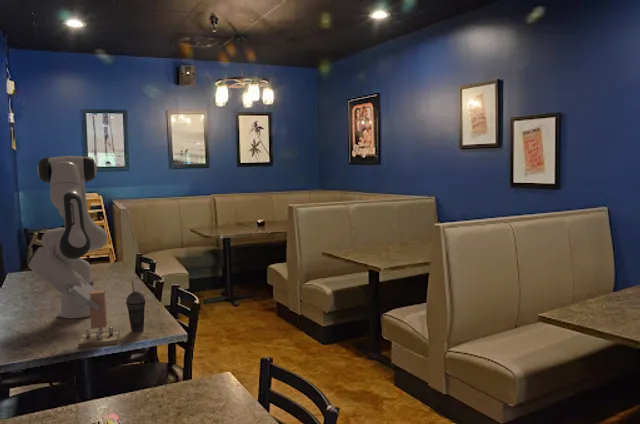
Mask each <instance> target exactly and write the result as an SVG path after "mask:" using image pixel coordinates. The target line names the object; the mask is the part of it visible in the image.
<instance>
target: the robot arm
mask: <svg viewBox="0 0 640 424" xmlns="http://www.w3.org/2000/svg"><path fill="white" fill-rule="evenodd" d="M36 169H37V170H36V171H37V174H38V175H37V176H38V177H39V180H41V181H42V182H44V183H47V184H49V195H50V200H51V204H52V205H53V206H54V207H55V208H57V209H58V213H59V215H60V216H61V217H62V218H63V220H64V227H56V228H51V229H48V230H46V231H45V232H44V233H43V235H42V239H41V245H42V246H38V247H37V248H36V249H35V250H34V252H33V253H32V254H31V255H30V257H29V258H28V261H27V267H28V268H29V269H30V271H32V272H33V273H34V274H35V275H36V276H38V277H39V278H40V279H41V280H43V281H45V282H48V283H49V284H50V285H51V287H52V288H53V289H55V290H56V291H57V292H58V293H60V294H62V296H61V297H60V311H59V312H58V313H57V314H56V318H57V317H58V318H64V319H81V318H87V317H90V307H92V308H94V309H95V310H98V309H99V308H100V305H98V304H96V303H95V302H93V300H91V297H92V296H91V295H90V294H89V293H90V291H95V290H96V288H95V287H94V281H93V279H92V278H93V277H92V266H91V264H90V263H89V262H88V260H86V259H82V257H83V256H84V255H86V254H87V253H88V252H92V251H95V250H100V249H102V248H104V247H105V246H106V244H107V241H108V234H107V231H106V230H105V229H104V227H102V226H101V225H98V224H97V223H96V222H95V221H94V220H93V219H92V217H91V215H90V213H89V209H88V205H87V194H86V187H85V183H86V184H87V183H89V182H91V181H93V180H94V179H95V178H96V175H97V174H98V173H97V172H98V166H97V163H96V161H95V159H94V158H93V157H91V156H88V155H84V156H77V155H66V156H54V157H49V156H47V157H43V158H41V159H40V160H39V161H38V164H37V168H36Z"/></svg>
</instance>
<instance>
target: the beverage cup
mask: <svg viewBox="0 0 640 424" xmlns="http://www.w3.org/2000/svg"><path fill="white" fill-rule="evenodd" d="M134 286H135V285H134V280H131V287H132V292H131V293H129V294H128V296H127V297H126V300H125V301H126V302H125V304H126V307H127V311H128V318H129V319H128V320H129V323H130V324H129V325H130V331H131V333H137V334H138V333H141V332H144V330H145V307H146V298H145V296H144V295H143V293H142V292H141V291H140V292H139V291H135V287H134Z"/></svg>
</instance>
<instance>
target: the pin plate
mask: <svg viewBox="0 0 640 424" xmlns="http://www.w3.org/2000/svg"><path fill="white" fill-rule="evenodd" d="M120 331H121V330H120V328H119V329H114V327H113V326H109V327H108V330H104V327H103V328H98V331H93V332H91V328H90V329H86V330H85V332H84V333H83V334H82V336H81V338H80V340H79V342H78V349H83V348H92V347H101V346H109V345H110V346H111V345H118V343H119V340H120V334H121V332H120Z"/></svg>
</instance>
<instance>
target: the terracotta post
mask: <svg viewBox="0 0 640 424" xmlns="http://www.w3.org/2000/svg"><path fill="white" fill-rule="evenodd" d="M89 294H90V295H91V296H92V297H91V300H93V302H95V303H96V304H98V305H100V308H99V309H98V310H95V309H94V308H92V307H90V316H89V317H90V330H92V329H99V328H103V329H104V328H107V324H108V319H107V301H106V290H105V289H97V290H96V289H95V291H90V293H89Z"/></svg>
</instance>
